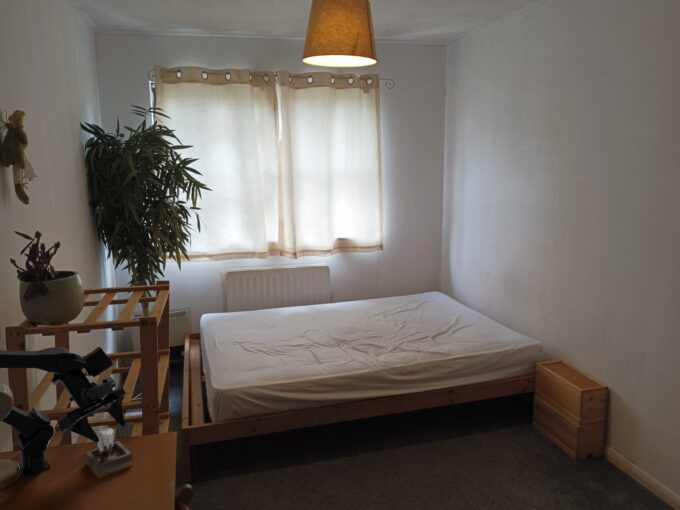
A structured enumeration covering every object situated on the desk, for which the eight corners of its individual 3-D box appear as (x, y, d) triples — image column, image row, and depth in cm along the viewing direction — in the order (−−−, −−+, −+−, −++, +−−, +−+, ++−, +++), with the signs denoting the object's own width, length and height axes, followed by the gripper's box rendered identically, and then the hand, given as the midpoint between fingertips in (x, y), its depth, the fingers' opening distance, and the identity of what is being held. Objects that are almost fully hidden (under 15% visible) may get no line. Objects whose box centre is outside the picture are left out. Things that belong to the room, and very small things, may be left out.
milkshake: (110, 466, 143) (109, 432, 141) (93, 463, 144) (91, 429, 142) (121, 457, 147) (120, 424, 145) (104, 454, 148) (102, 421, 147)
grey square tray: (86, 463, 146) (85, 451, 146) (118, 451, 153) (118, 440, 152) (98, 478, 140) (98, 466, 139) (132, 465, 146) (131, 453, 146)
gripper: (64, 384, 134) (99, 435, 132) (120, 360, 152) (152, 404, 149) (43, 407, 139) (77, 456, 137) (100, 380, 156) (131, 424, 154)
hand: (111, 433), depth 144 cm, fingers open, 9 cm apart
